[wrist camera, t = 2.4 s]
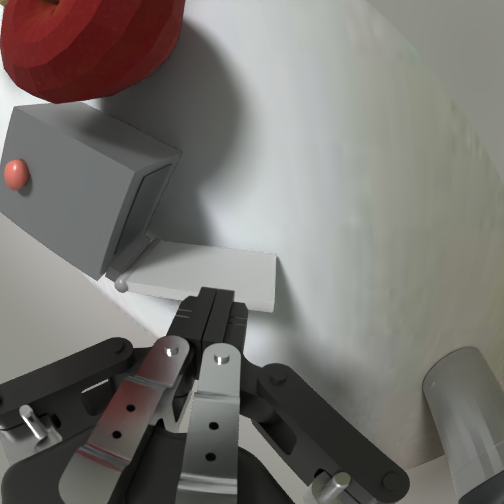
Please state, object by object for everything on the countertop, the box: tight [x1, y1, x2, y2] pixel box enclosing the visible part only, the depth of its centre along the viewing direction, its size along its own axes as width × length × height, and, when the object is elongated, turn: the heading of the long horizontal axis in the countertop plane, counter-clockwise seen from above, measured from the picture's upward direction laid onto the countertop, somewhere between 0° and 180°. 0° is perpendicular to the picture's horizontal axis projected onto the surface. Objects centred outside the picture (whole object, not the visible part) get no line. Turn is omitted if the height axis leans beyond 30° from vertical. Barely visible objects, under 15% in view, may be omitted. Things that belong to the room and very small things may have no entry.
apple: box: [0, 0, 185, 104], centre depth 13 cm, size 12×12×13 cm
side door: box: [114, 239, 276, 313], centre depth 22 cm, size 1×11×7 cm, turn 85°
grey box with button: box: [0, 102, 182, 282], centre depth 19 cm, size 12×9×9 cm
